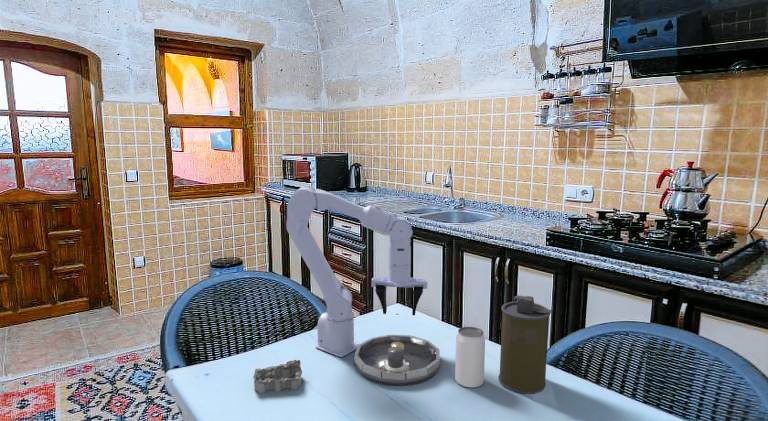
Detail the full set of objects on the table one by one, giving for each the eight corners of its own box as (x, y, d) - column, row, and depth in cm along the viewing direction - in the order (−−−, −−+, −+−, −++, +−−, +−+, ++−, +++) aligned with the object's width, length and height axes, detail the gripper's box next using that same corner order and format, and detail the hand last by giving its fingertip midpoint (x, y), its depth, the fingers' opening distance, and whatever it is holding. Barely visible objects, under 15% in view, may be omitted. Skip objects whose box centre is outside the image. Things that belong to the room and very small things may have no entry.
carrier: (338, 368, 111) (337, 348, 111) (388, 338, 128) (388, 321, 127) (409, 395, 99) (409, 374, 99) (454, 359, 116) (454, 340, 115)
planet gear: (383, 375, 104) (383, 357, 104) (380, 362, 111) (380, 345, 110) (411, 374, 105) (411, 355, 104) (406, 361, 111) (406, 343, 111)
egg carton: (302, 375, 109) (302, 358, 108) (301, 392, 101) (301, 374, 101) (256, 377, 107) (255, 361, 107) (251, 395, 100) (251, 377, 99)
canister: (495, 388, 102) (498, 302, 99) (501, 367, 112) (504, 288, 109) (547, 398, 98) (552, 309, 95) (548, 375, 108) (553, 293, 105)
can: (483, 390, 102) (485, 338, 100) (454, 387, 103) (455, 336, 101) (483, 375, 108) (485, 327, 106) (455, 372, 109) (456, 324, 107)
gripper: (369, 266, 116) (369, 317, 118) (427, 268, 115) (426, 320, 117) (373, 259, 123) (373, 308, 125) (427, 261, 122) (427, 310, 124)
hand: (399, 313), depth 121 cm, fingers open, 7 cm apart
